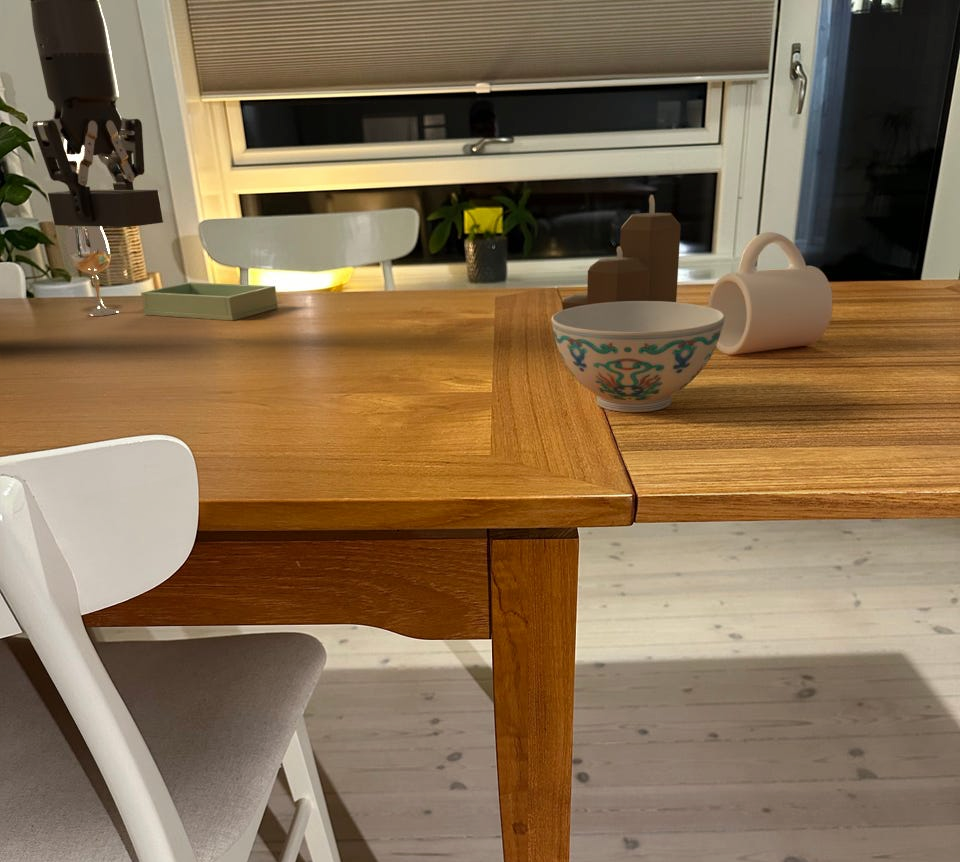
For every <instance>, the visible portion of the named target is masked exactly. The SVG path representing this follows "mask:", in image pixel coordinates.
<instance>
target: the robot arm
mask: <svg viewBox="0 0 960 862" xmlns="http://www.w3.org/2000/svg"><path fill="white" fill-rule="evenodd" d="M29 1H30V8H31V9H30V10H31V20H32V28H33V34H34V38H35V43H36V48H37V52H38V53H37V54H38V57H39V62H40V66H41V71H42V76H43V81H44V85H45V86H44V87H45V90H46V94H47V98H48V99H49V100H50V101H51V102H52V104H53V107H54V111H53V117H52V118H51V119H50V118H49V119H47V120H34V121H33V122H32V130H33V133H34V136H35V138H36V141H37V144H38V146H39V150H40V152H41V155H42V159H43V161H44V163H45V166H46V169H47V172H48V175H49V177H50V179H51V180H52V181H54V182H59V183H63V184H65V185H66V186H67V188H68V191H70V196H71V201H72V205H73V210H74V213H75V215H76V217H78V220H79V221H80V222H95V219H96V218H95V213H94V208H93V203H92V198H91V191H90V190H91V187H90V186H87V184H88V180H89V179H88V178H89V169H90V167H91V166H92V165H93V161H94V156H97V157H98V159H99V160H100V162H101V163H102V164H103V165H105V166H106V169H107V170H108V172H109V175H110V176H111V178H112V180H113V181H114V182H112V187H113V190H135V189H134V181H135V179H136V178H137V177H138V176H143V175H144V174H145V155H144V154H145V153H144V137H143V123H142V122H141V120H140V119H139V118H124V117H121V114H120V112H119V110H118V109H117V103H116V102H117V100H118V99H119V97H120V92H119V88H118V83H117V76H116V73H115V72H116V71H115V66H114V61H113V56H112V49H111V43H110V38H109V32H108V28H107V24H106V21H105V17H104V14H103V11H102V6H101V3H100V0H29ZM62 138H64V140H63V139H62Z"/></svg>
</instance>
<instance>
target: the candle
mask: <svg viewBox="0 0 960 862" xmlns="http://www.w3.org/2000/svg"><path fill="white" fill-rule="evenodd" d="M648 203H649V208H648V209H649V210H648V212H644V213H632V214H631V215H630V216H629V218H627V220H626V221H625V222H624V223H623V224H622V226H621V228H620V235H619V237H620V238H619V239H620V241H619V246H617V247H616V249H615V251H616V257H605V258H600V259H598V260H596V261H595V262H594V263H593V264H592V265H590V266H589V268H588V270H587V292H583V293H573V294H570V295H567V296H565V297H564V299H563V300H562V306H561V307H562V308H561V309H562V310H565V309H569V308H573V307H577V306H583V305H590V304H598V303H608V302H625V301H663V302H677V294H678V279H679V278H678V277H679V261H680V247H681V246H680V244H681V243H680V242H681V231H682V229H681V228H682V227H681V223H680V222H679V221H678V220H677V219H676V217H675V216H674V215H673V214H672V213H671V212H656V211H655V210H656V208H655V207H656V202H655V198H654V195H653V194H650V195H649V198H648ZM562 310H561V311H562Z"/></svg>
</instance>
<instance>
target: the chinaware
mask: <svg viewBox="0 0 960 862" xmlns="http://www.w3.org/2000/svg"><path fill="white" fill-rule="evenodd" d="M724 319H725V315H724V314H723V313H722V312H721V311H719V310H717V309H714V308H711V307H708V305H701V304H696V303H687V302H679V301H676V302H663V301H625V302H608V303H598V304H590V305H583V306H577V307H573V308H569V309H565V310H560V311H558V312H555V313H554V314H553V315H552V316H551V324H552V325H551V326H552V331H553V337H554V339H555V343H556V345H557V349H558V351H559V355H560V356H561V358H562V361H563V362H564V364H565V366H566V367H567V369H568V371H569V372H570V373H571V375H572V376H573V377H574V378H575V379H576V381H578V382H579V383H580V384H581V385H582V387H585V388H586V389H587V391H590V392H591V393H593V394H594V395H596V404H597V405H598V406H599V407H600V408H602V409H605V410H608V411H613V412H619V413H645V412H646V413H647V412H656V411H659V410H663V409H665V408H668V407H669V406H670V405H671V404H672V396H673V395H675V394H676V393H678V392H680V391H681V390H682V389H684V388H685V387H687V386H688V385H689V384H690V383H691V382H692V381H693V380H694V379H695V378H696V377H697V376H698V375H700V373H701V372H702V370H703V369H704V368H705V367H706V365H707V364H708V362H709V360H710V359H711V357H712V355H713V353H714V351H715V349H716V348H717V347H716V345H717V342H718V340H719V337H720V334H721V331H722V328H723V324H724Z"/></svg>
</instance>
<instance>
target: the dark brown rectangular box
mask: <svg viewBox="0 0 960 862" xmlns="http://www.w3.org/2000/svg"><path fill="white" fill-rule="evenodd" d="M90 191H91V198H92V203H93V208H94V213H95V218H96V219H95V222H80V221H79V220H78V217H76V215H75V213H74V210H73V205H72V201H71V196H70V191H69V190H67V191H65V190H63V191H55V192H54V191H53V192H47V195H48V201H49V205H50V210H51V214H52V219H53V223H54V226H61V227H63V226H64V227H65V226H66V227H71V226H99V227H102V228H103V227H105V228H132V227H141V226H148V225H155V224H156V225H157V224H162V223H163V224H164V218H163V211H162V206H161V199H160V194H159V190H158V189H134V190H114V189H90Z"/></svg>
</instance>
